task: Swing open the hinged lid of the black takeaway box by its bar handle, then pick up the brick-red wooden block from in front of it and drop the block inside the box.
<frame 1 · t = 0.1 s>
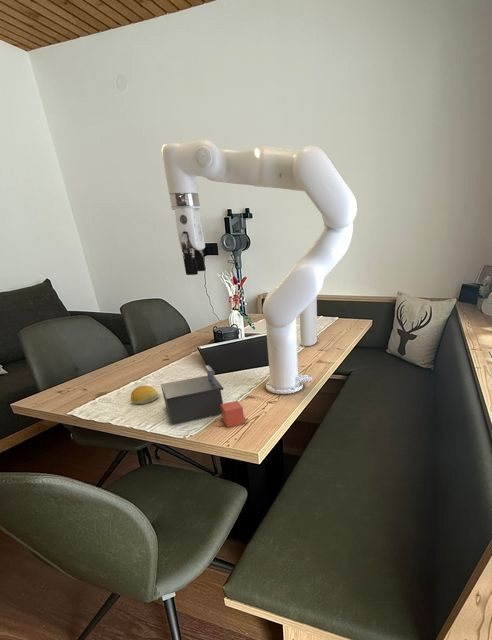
hand: (196, 272, 104), 37 cm above the table, tool pointing down, fingers open, 9 cm apart
lid: (190, 379, 104), point 10 cm above the table, hinge at 0.0°
block: (233, 421, 101), on the table
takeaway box: (194, 410, 108), on the table
paper towel roll: (308, 344, 165), on the table
bread roll: (144, 399, 118), on the table
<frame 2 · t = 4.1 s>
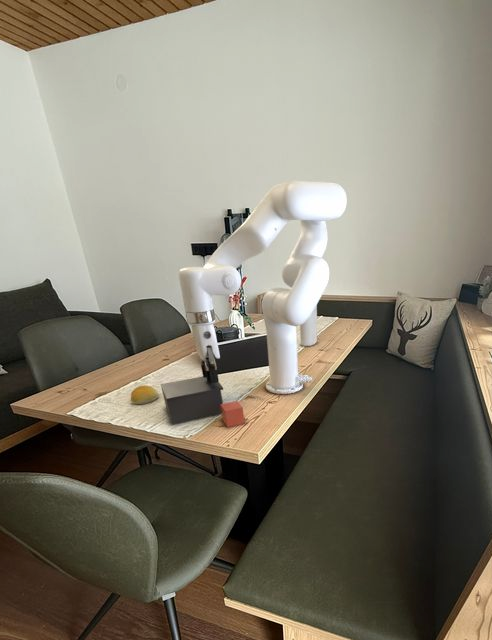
hand: (210, 379, 106), 9 cm above the table, tool pointing down, fingers closed on lid, 5 cm apart
lid: (190, 379, 104), point 10 cm above the table, hinge at 0.0°, touching gripper
everything else where it was.
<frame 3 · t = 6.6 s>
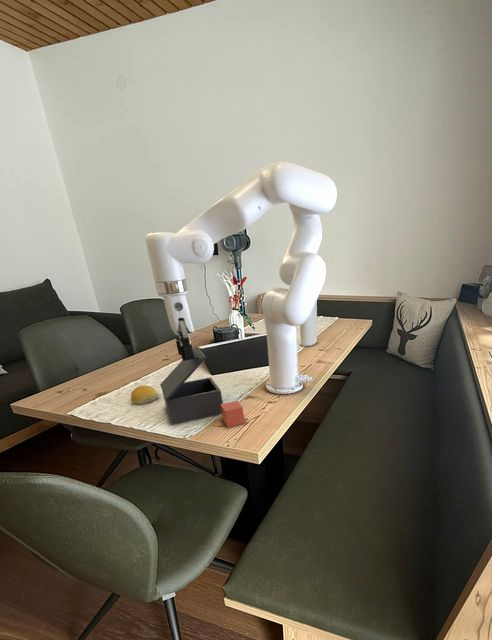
hand: (186, 356, 100), 17 cm above the table, tool pointing down, fingers closed on lid, 5 cm apart
lid: (176, 366, 100), point 14 cm above the table, hinge at 38.6°, touching gripper
everything else where it was.
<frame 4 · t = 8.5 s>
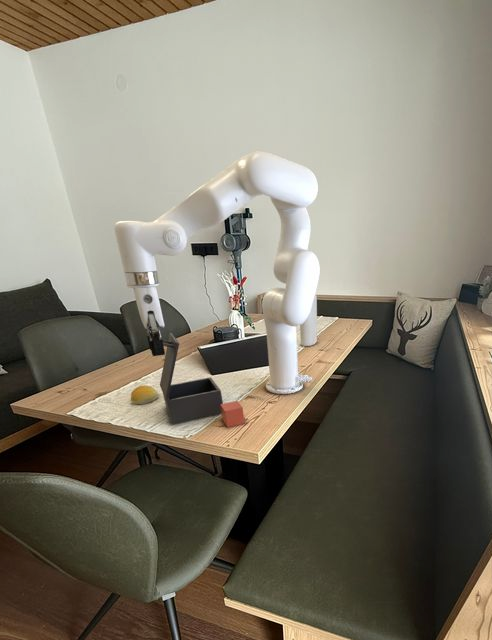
hand: (157, 351, 96), 19 cm above the table, tool pointing down, fingers closed on lid, 5 cm apart
lid: (160, 364, 98), point 16 cm above the table, hinge at 68.0°, touching gripper
everything else where it was.
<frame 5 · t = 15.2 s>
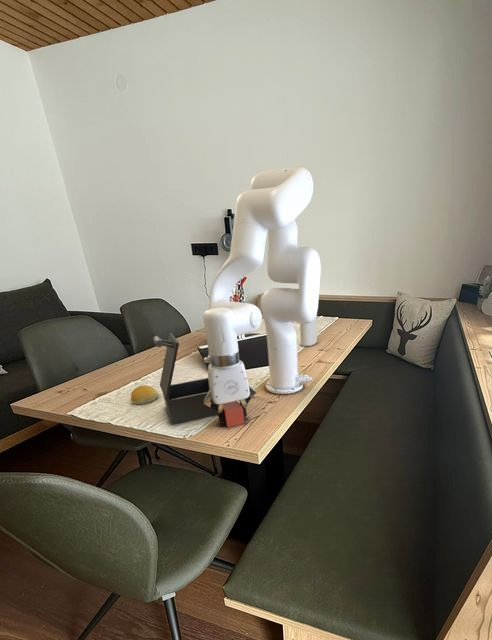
hand: (233, 420, 101), 0 cm above the table, tool pointing down, fingers closed on block, 5 cm apart
lid: (160, 364, 98), point 16 cm above the table, hinge at 68.2°
block: (233, 421, 101), on the table, touching gripper
everything else where it was.
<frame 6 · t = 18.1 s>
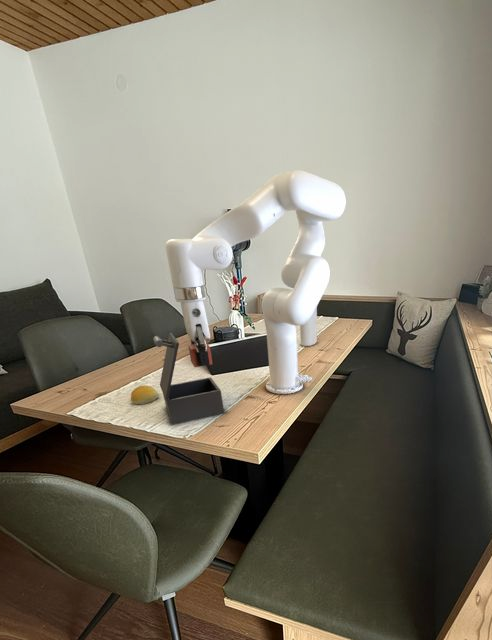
hand: (201, 361, 100), 15 cm above the table, tool pointing down, fingers closed on block, 5 cm apart
block: (201, 363, 100), point 15 cm above the table, touching gripper
everything else where it was.
when the fingers open (6 cm above the table, at t = 21.2 s): block drops 5 cm, resting on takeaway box.
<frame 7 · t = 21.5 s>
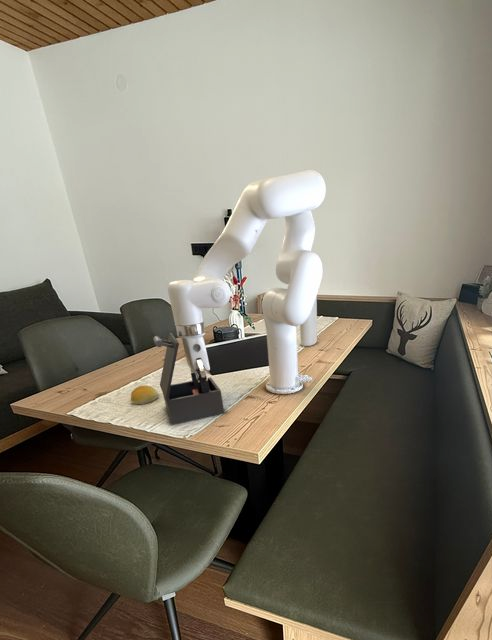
hand: (201, 388, 106), 6 cm above the table, tool pointing down, fingers open, 7 cm apart
block: (204, 406, 109), point 1 cm above the table, touching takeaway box
everything else where it was.
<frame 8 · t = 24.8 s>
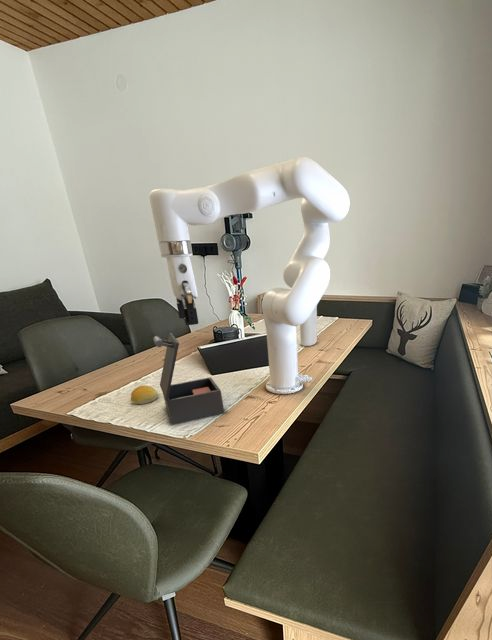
hand: (188, 320, 96), 26 cm above the table, tool pointing down, fingers open, 9 cm apart
nothing on the table moved.
at the end: lid at +68° (first picture: +0°); block inside the target area in the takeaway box (3.1 cm from its centre), point 0.8 cm above the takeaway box's base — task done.
